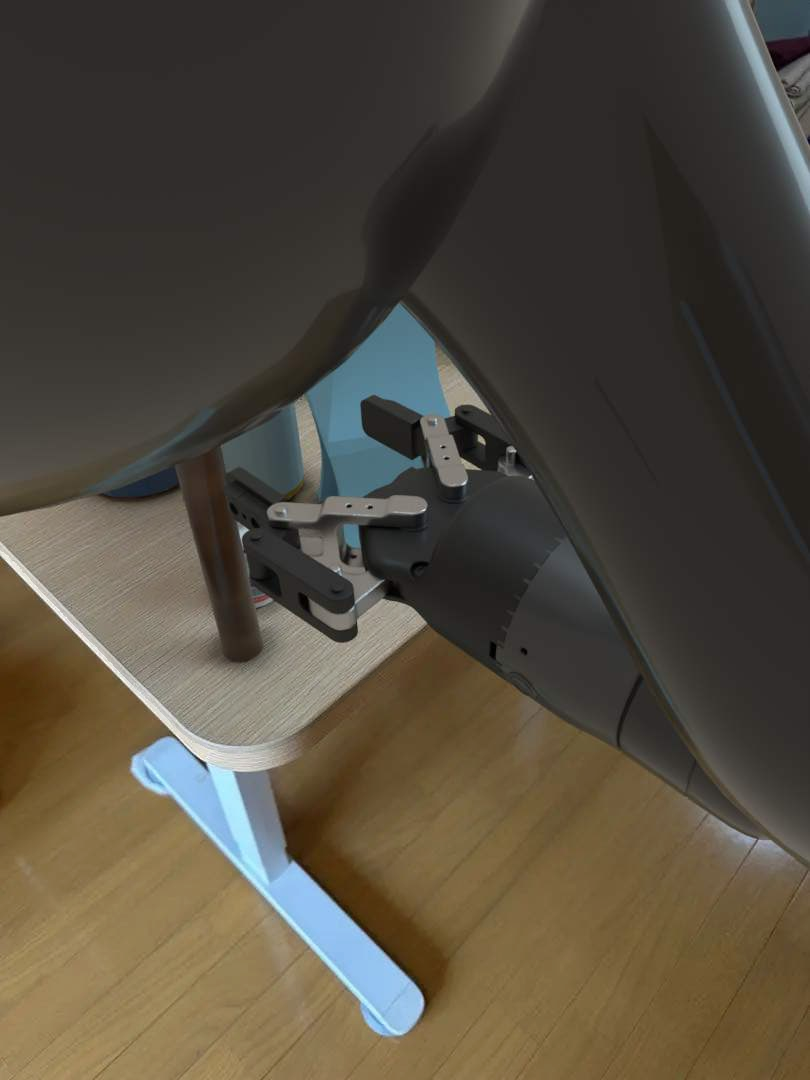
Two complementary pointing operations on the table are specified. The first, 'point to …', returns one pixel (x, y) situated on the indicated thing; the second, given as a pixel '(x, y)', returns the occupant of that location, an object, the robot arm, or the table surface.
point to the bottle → (270, 453)
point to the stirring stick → (220, 554)
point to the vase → (374, 369)
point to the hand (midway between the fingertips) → (302, 447)
